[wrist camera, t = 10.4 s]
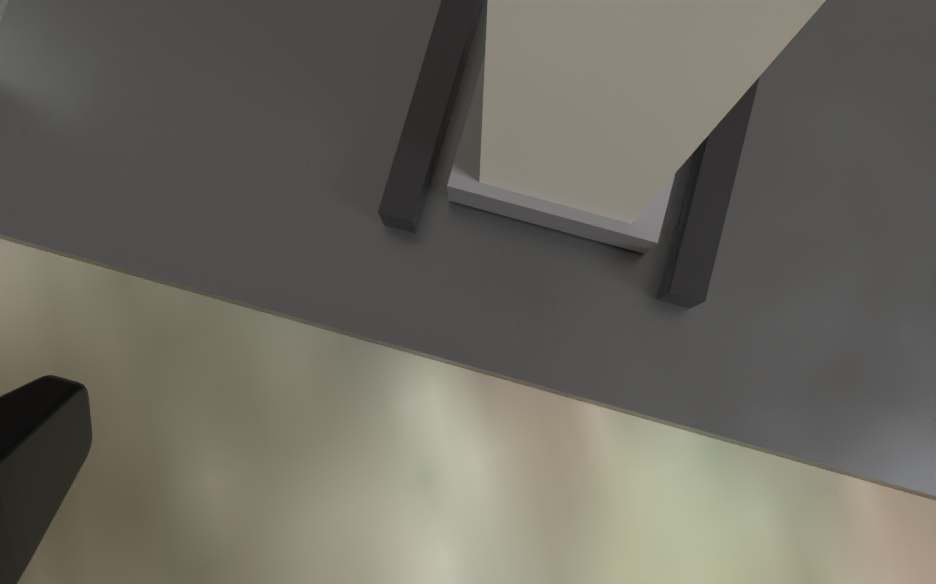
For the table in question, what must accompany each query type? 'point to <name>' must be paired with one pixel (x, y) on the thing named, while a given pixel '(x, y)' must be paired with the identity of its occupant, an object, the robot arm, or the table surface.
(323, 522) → the table surface
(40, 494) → the robot arm
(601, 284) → the breaker panel
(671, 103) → the breaker handle
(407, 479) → the table surface
